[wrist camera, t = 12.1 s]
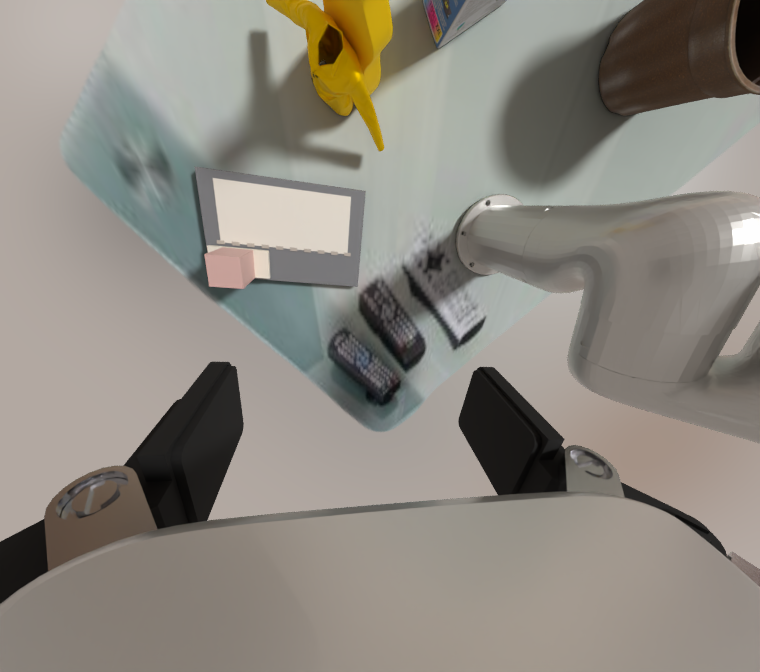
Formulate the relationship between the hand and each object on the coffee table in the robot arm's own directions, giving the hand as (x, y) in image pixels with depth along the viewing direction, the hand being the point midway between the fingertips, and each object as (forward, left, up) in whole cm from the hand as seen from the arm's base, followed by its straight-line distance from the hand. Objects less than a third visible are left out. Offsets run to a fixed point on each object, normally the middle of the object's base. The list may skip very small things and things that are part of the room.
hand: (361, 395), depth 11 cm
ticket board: (+8, -2, -36) cm, 37 cm away
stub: (+15, +2, -34) cm, 38 cm away
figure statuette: (+1, -21, -36) cm, 42 cm away
